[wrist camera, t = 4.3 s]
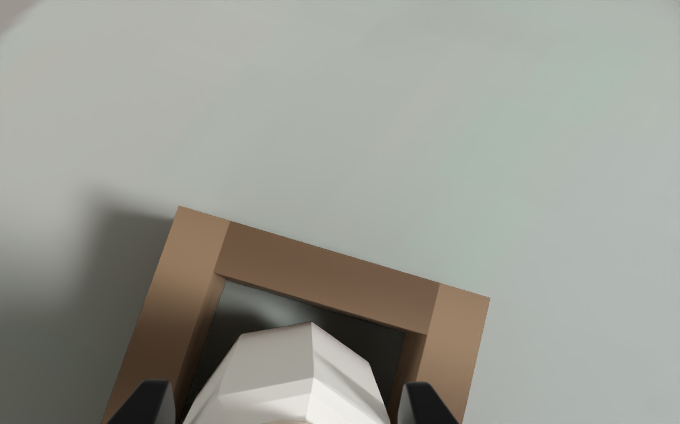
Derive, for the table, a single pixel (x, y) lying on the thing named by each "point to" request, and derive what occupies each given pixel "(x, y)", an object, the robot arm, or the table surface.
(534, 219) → the table surface
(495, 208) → the table surface
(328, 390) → the pepper shaker
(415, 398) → the robot arm
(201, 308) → the socket block
